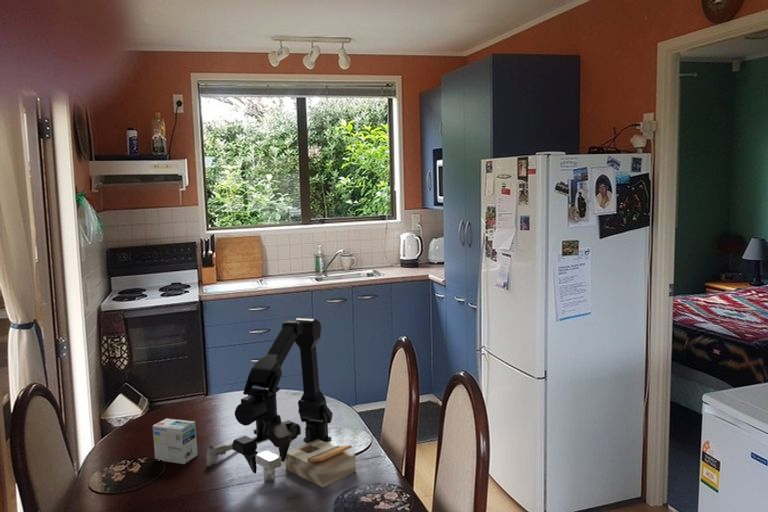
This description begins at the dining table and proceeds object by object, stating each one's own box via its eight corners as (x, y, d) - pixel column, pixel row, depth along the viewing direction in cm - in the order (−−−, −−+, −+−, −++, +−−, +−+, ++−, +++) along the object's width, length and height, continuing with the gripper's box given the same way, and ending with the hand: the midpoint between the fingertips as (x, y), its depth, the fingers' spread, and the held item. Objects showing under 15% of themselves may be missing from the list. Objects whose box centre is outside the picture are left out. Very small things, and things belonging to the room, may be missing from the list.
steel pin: (268, 474, 174) (266, 450, 173) (282, 481, 170) (280, 457, 169) (257, 479, 172) (256, 454, 171) (271, 486, 167) (269, 461, 166)
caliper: (209, 468, 180) (208, 447, 179) (206, 467, 180) (205, 446, 180) (256, 441, 198) (255, 422, 197) (253, 440, 198) (252, 421, 197)
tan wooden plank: (307, 462, 170) (307, 458, 170) (338, 449, 178) (337, 445, 178) (321, 460, 166) (320, 457, 166) (351, 447, 174) (350, 444, 174)
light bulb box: (198, 455, 188) (196, 420, 187) (184, 465, 182) (182, 429, 180) (168, 451, 192) (166, 417, 190) (153, 460, 185) (151, 425, 184)
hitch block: (285, 469, 177) (285, 452, 177) (318, 455, 186) (318, 439, 185) (322, 487, 166) (322, 469, 165) (355, 471, 174) (355, 454, 174)
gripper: (254, 429, 156) (257, 489, 158) (312, 409, 169) (314, 464, 171) (229, 418, 164) (232, 475, 166) (287, 400, 177) (289, 452, 179)
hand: (269, 467), depth 170 cm, fingers open, 9 cm apart
